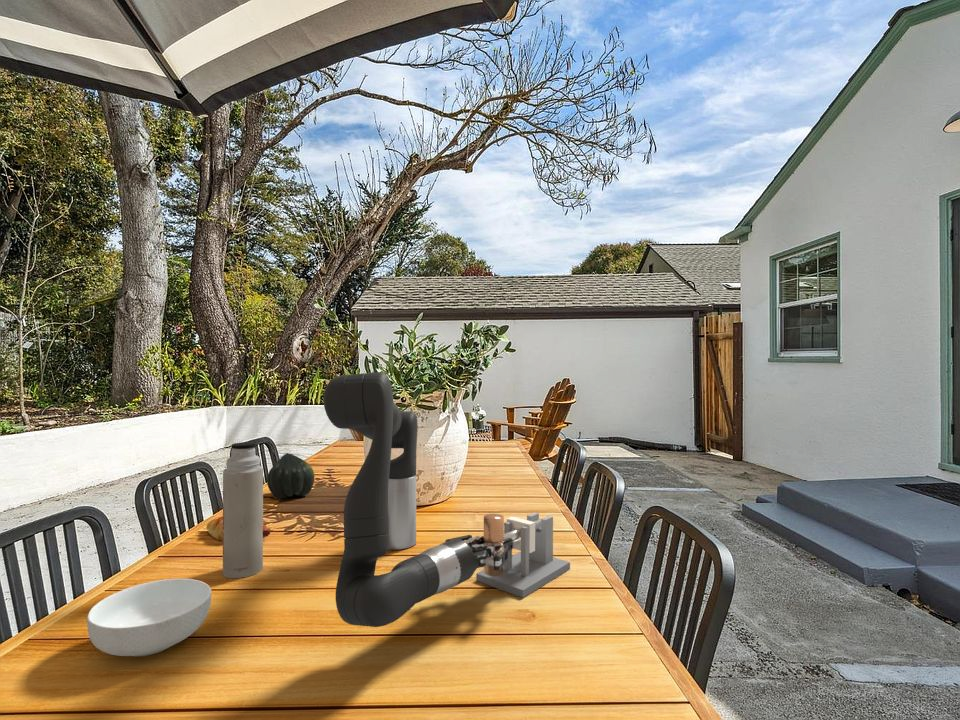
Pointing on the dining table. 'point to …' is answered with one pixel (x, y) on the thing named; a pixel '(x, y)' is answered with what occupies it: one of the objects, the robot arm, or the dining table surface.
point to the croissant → (217, 528)
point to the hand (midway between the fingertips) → (501, 540)
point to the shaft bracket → (528, 562)
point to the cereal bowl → (149, 616)
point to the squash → (290, 477)
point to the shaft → (499, 536)
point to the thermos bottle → (242, 512)
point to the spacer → (518, 524)
